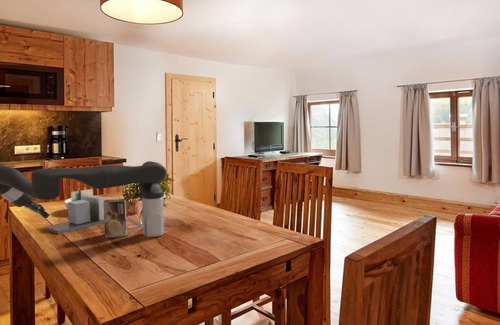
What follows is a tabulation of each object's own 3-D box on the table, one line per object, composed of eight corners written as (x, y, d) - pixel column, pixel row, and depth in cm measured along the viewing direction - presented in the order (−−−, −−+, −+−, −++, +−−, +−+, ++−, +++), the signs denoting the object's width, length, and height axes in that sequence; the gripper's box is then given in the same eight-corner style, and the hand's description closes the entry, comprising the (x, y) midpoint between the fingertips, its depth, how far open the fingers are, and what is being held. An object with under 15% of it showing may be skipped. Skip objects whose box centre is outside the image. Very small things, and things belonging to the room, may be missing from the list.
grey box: (76, 224, 168) (75, 193, 166) (67, 221, 172) (66, 191, 171) (90, 221, 173) (89, 191, 172) (81, 218, 178) (80, 189, 176)
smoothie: (120, 214, 195) (119, 178, 193) (132, 211, 202) (131, 176, 200) (131, 216, 191) (130, 180, 189) (142, 213, 198) (142, 178, 196)
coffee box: (127, 232, 163) (126, 198, 161) (126, 236, 156) (125, 201, 155) (106, 233, 160) (105, 199, 158) (104, 238, 154) (103, 202, 152)
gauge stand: (58, 234, 158) (56, 199, 157) (45, 229, 165) (43, 196, 164) (106, 222, 178) (105, 191, 176) (92, 218, 185) (91, 189, 183)
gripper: (2, 199, 150) (34, 221, 162) (16, 203, 143) (49, 225, 154) (15, 185, 154) (46, 207, 166) (30, 188, 147) (60, 211, 158)
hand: (47, 216), depth 160 cm, fingers closed
